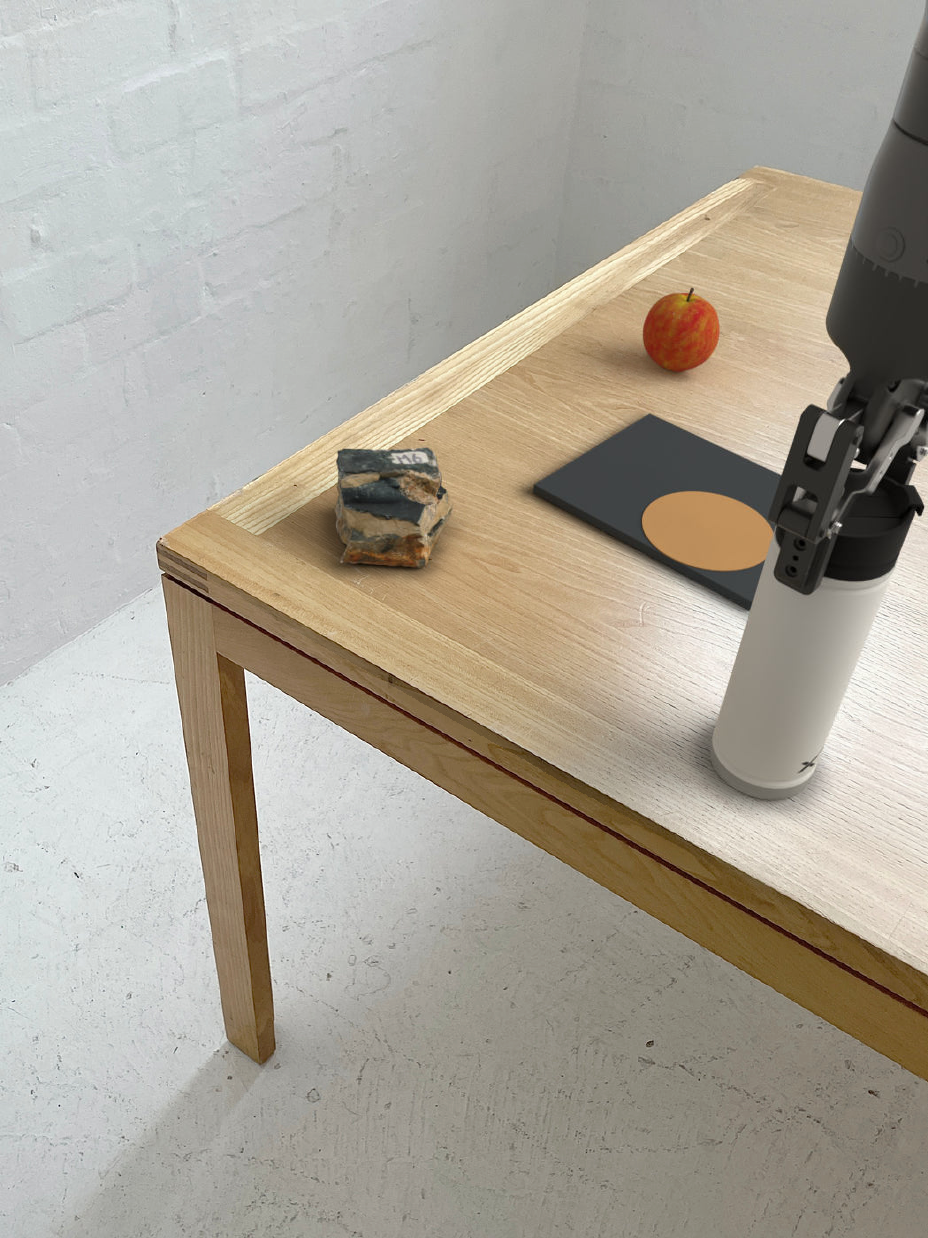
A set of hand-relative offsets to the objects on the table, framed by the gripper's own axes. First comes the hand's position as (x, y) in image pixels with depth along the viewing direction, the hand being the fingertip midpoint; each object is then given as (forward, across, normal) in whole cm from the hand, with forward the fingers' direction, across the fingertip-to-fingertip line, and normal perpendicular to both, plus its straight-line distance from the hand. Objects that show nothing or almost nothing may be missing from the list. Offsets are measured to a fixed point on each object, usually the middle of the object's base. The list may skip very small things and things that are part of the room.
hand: (835, 548), depth 58 cm
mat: (+16, +20, +18) cm, 31 cm away
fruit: (+17, +38, +32) cm, 52 cm away
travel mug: (+17, 0, 0) cm, 17 cm away
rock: (+17, 0, +32) cm, 36 cm away
